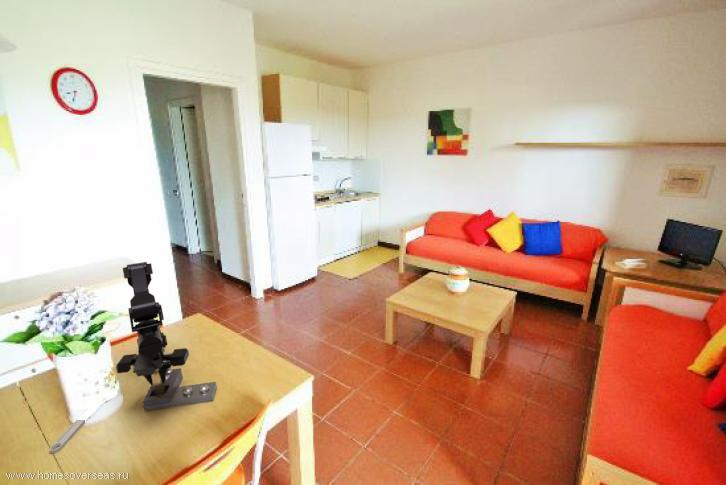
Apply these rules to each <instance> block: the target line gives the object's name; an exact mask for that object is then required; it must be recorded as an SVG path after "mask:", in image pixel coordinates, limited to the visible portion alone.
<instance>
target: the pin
mask: <svg viewBox="0 0 726 485" xmlns="http://www.w3.org/2000/svg"><path fill="white" fill-rule="evenodd" d="M159 369H160V368H158V369H157V370H155V373H154V374H152V375H151V379H152V384H153V389H154V393H161V392H163V391H164V390H165V386H164V383H163V382H162V375H161V370H159Z"/></svg>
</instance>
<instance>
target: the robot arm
mask: <svg viewBox="0 0 726 485" xmlns="http://www.w3.org/2000/svg"><path fill="white" fill-rule="evenodd" d="M122 272H123V279H124V280H125V279H127V283H128V285H129V287H131V288H132V291H133V297H132V298H131V299H130V300H129V304H130V308H128V315H129V321H130V322H129V323H130V328H131V332H132V333H135V332H136V334H137V338H136V342H137V350H138V351H137V352H138V354H137V353H132V354H123V355H122V357H121V358H120V359H119V361H118V362H117V363H116V365H115V370H116V373H117V374H123V373H129V371H131V369H132V367H133V373H134V374H136V377H144V378H145V379H146V381H147V382H148V384H150V386H151V385H153V384H152V379H151V375H152V374H154V373H155V370H157V369H158V368H160V369H159V370H161V375H162V382H163V383H165V380H166V376H167V372H168V369H172V367H182V366H184V365H186V362H187V360H188V359H189V356H190V352H189V350H188V349H187V348H186V347H184V348H183V347H182V348H176V349H174V350H173V351H172V352H169V353H165V352H166V350H165V349H166V347H167V346H168V340H167V335H166V334H165V333H164V332H162V331H161V327H160V326H163V321H164V320H165V318H164V313H163V308H162V304H160V302H158V301H157V302H156V298H155V295H154V294H152V293H150V290H149V286H150V284H151V281H152V280H153V279H152V275H153V274H154V272H153V266H152V263H148V262H147V261H144V262H137V263H131V264H126V266H125V267H122ZM157 318H158V319H157ZM134 323H136V324H134ZM131 366H132V367H131Z"/></svg>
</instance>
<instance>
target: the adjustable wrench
mask: <svg viewBox="0 0 726 485" xmlns="http://www.w3.org/2000/svg"><path fill="white" fill-rule="evenodd" d="M85 424H86V423H85V420H77V419H76V420H75V421H74V422H73V423H72V424H71V425H70V426H69V427H68V428H67V429H66V430H65V432H64V433H63V434H61V435H60V437H58V439H57V440H55V442H54V443H53V444H52V445H50V447H49V452H50V454H53V455H54V454H57V453H59V452H60V451H62V450H63V449H64V447H65V446H66V445H67V444H68V443H69V442H70V441H71V440H72V438H73V437H74V436H75V435H76V434H77V433H78V432H79V431H80V429H81V428H82V427H83V426H84V425H85Z"/></svg>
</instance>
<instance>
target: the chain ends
mask: <svg viewBox="0 0 726 485" xmlns="http://www.w3.org/2000/svg"><path fill="white" fill-rule="evenodd" d="M182 382H183V373H182V368H174V369H173V368H170V369H168V372H167V376H166V380H165V383H164V386H165V390H164V391H163V392H161V393H154V389H153V385H151V384H150V387H149V389H148V391H147V392H146V395H145V396H144V398H143V399H142V409H143V410H142V411H143V412H148V411H152V410H153V411H154V410H161V409H167V408H168V409H169V408H174V407H182V406H186V405H194V404H200V403H201V404H202V403H208V402H213V401H214V397H215V395H216V390H217V388H218V387H217V382H216V381H211V382H203V383H197V384H190V385H183V386H182V385H181V383H182Z"/></svg>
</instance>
